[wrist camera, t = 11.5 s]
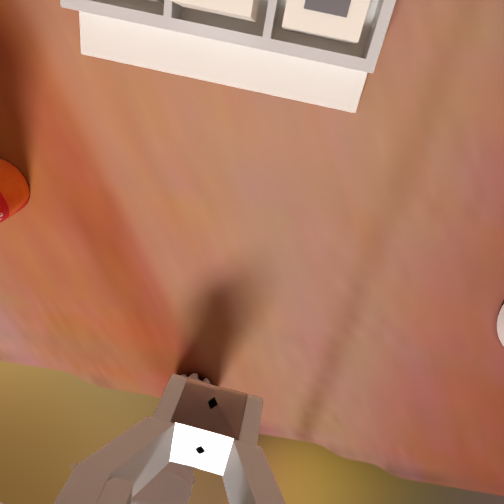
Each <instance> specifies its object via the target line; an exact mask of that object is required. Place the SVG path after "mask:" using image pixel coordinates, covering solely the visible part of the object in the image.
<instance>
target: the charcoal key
mask: <svg viewBox="0 0 504 504" xmlns="http://www.w3.org/2000/svg"><path fill="white" fill-rule="evenodd" d="M369 3H370V0H287V1H286V7H285V12H284V17H283V22H282V28H283V29H284V30H287V31H292V32H296V33H301V34H306V35H311V36H315V37H320V38H325V39H330V40H334V41H339V42H344V43H349V44H355V43H358V42H359V38H360V35H361V31H362V28H363V24H364V21H365V17H366V14H367V10H368V7H369Z"/></svg>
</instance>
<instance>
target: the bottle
mask: <svg viewBox="0 0 504 504" xmlns="http://www.w3.org/2000/svg"><path fill="white" fill-rule="evenodd" d="M180 376H184V377H187V376H186V375H185V374H182V375H180ZM187 378H191V379H194V380H198V381H201V380H199V379H198V374H197V373H192V374H191V375H190V376H189V377H187ZM201 382H204V383H208V384H210V381H209V380H208V379H207V378H205V379H203V381H201ZM194 468H195V467H192V466H188V465H184V464H180V463H175V462H171V461H169V463H168V464H167V465H166V466H165V467H164V468H163V469H162V470H161V471H160V472H159V473H158V474H157V475H156V476H155V477H154V478H152V479H151V480H150V481H149V482H148V483H147V484H146V485H145V486H144V487H143V488H142V489H141V490H140V491H139V492H138V493H137V494H136V495H135V496H134V497H132V499H131V504H187V503H188V501H189V499H190V496H191V490H192V485H193V483H194V476H193V471H194Z"/></svg>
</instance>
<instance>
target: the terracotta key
mask: <svg viewBox="0 0 504 504" xmlns="http://www.w3.org/2000/svg"><path fill="white" fill-rule="evenodd" d="M145 1H150V2H154V3H159V4H164V0H145Z"/></svg>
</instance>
